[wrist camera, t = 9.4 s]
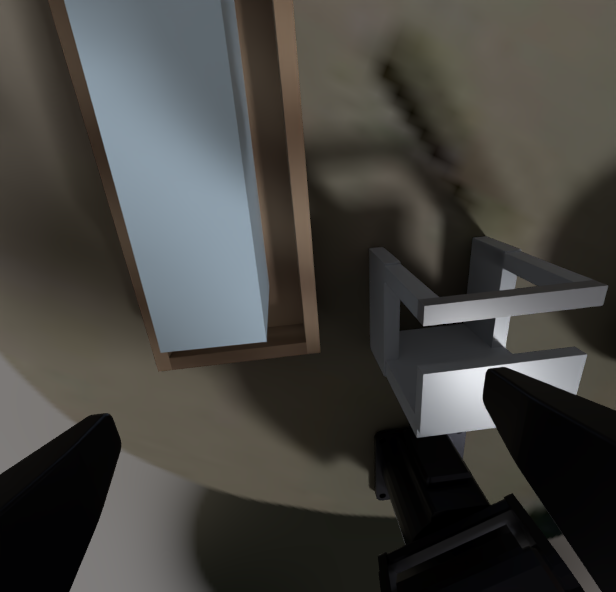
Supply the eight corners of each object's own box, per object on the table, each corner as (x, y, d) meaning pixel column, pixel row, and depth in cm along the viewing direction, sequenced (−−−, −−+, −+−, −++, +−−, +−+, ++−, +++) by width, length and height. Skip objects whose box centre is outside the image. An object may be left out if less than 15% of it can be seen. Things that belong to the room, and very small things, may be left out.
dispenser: (474, 335, 22) (570, 423, 15) (370, 348, 22) (417, 443, 14) (486, 236, 20) (608, 282, 12) (369, 248, 19) (424, 303, 12)
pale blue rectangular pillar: (269, 286, 19) (266, 341, 13) (195, 294, 18) (160, 352, 13) (228, -48, 13) (194, -194, 8) (123, -43, 13) (11, -189, 8)
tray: (314, 326, 21) (320, 352, 18) (174, 342, 20) (158, 371, 18) (275, -138, 13) (275, -217, 10) (49, -127, 13) (-14, -206, 10)
